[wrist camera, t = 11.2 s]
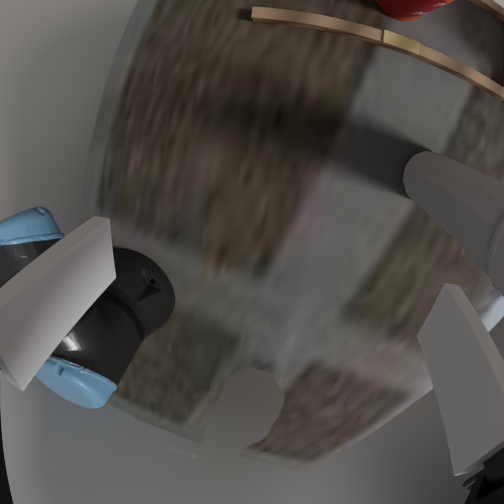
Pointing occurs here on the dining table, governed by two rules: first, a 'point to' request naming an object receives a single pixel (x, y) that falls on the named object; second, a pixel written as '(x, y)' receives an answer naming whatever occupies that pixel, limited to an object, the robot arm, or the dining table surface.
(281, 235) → the dining table surface
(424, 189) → the water bottle
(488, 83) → the brown piece
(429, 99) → the dining table surface
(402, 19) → the coffee cup
